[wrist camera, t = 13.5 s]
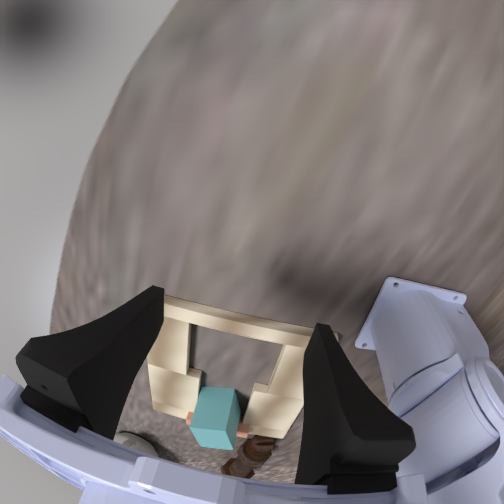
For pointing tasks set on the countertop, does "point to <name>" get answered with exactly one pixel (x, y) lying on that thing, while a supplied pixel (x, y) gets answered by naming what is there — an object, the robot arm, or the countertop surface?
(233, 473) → the bolt
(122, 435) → the teacup
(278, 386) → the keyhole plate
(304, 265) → the countertop surface
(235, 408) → the slider block
